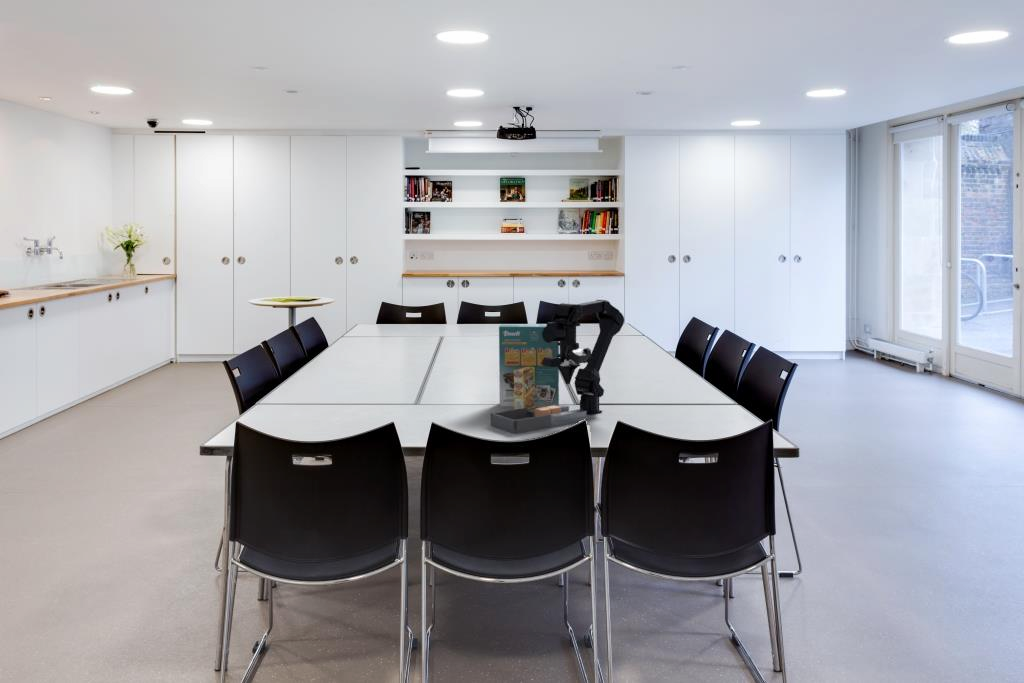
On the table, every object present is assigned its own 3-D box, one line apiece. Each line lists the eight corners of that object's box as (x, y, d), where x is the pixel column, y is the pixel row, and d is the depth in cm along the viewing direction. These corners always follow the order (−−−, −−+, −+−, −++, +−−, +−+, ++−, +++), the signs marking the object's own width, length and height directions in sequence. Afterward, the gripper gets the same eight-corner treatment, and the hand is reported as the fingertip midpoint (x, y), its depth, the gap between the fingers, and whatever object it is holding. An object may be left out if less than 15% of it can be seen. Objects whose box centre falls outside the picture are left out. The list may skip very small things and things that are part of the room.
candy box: (523, 412, 305) (523, 370, 303) (513, 411, 307) (513, 369, 305) (535, 407, 312) (535, 366, 310) (525, 406, 315) (525, 366, 312)
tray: (526, 419, 294) (526, 407, 293) (551, 426, 283) (551, 414, 282) (490, 425, 285) (490, 413, 285) (515, 433, 274) (514, 421, 274)
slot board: (561, 413, 303) (561, 404, 303) (587, 420, 292) (587, 411, 292) (526, 419, 294) (526, 410, 294) (551, 426, 283) (551, 417, 282)
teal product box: (558, 403, 319) (559, 325, 315) (558, 407, 313) (558, 327, 309) (501, 402, 321) (500, 324, 317) (499, 406, 315) (499, 326, 311)
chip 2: (554, 415, 295) (554, 405, 294) (561, 417, 292) (561, 407, 291) (545, 416, 292) (545, 406, 292) (552, 418, 289) (552, 408, 289)
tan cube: (544, 416, 292) (544, 407, 292) (551, 419, 289) (551, 409, 289) (535, 418, 290) (535, 408, 289) (541, 420, 287) (541, 410, 286)
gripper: (561, 344, 280) (561, 391, 282) (603, 340, 291) (603, 384, 293) (541, 341, 289) (541, 385, 291) (582, 336, 300) (582, 379, 302)
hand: (567, 384), depth 294 cm, fingers closed
